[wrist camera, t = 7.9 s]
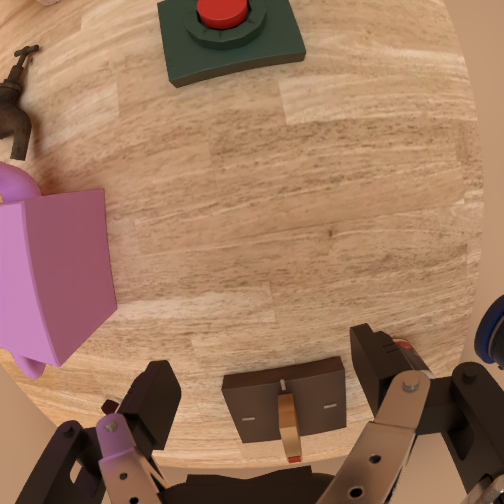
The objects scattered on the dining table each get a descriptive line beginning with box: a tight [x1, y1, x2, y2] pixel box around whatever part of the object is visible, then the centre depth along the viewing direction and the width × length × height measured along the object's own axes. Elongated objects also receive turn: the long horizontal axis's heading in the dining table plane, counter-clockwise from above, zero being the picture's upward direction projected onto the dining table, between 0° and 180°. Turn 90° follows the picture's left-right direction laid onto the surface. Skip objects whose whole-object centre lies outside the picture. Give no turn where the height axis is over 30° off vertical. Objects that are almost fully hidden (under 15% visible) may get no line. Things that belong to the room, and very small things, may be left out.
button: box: [197, 0, 248, 29], centre depth 17 cm, size 4×4×2 cm
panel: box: [221, 356, 346, 443], centre depth 30 cm, size 13×11×3 cm
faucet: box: [0, 45, 39, 161], centre depth 21 cm, size 5×17×15 cm
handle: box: [278, 393, 303, 463], centre depth 26 cm, size 6×2×5 cm, turn 12°
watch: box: [101, 399, 121, 415], centre depth 31 cm, size 8×5×4 cm, turn 57°
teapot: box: [0, 162, 117, 379], centre depth 20 cm, size 15×25×14 cm, turn 0°
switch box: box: [157, 0, 306, 88], centre depth 19 cm, size 12×10×4 cm
